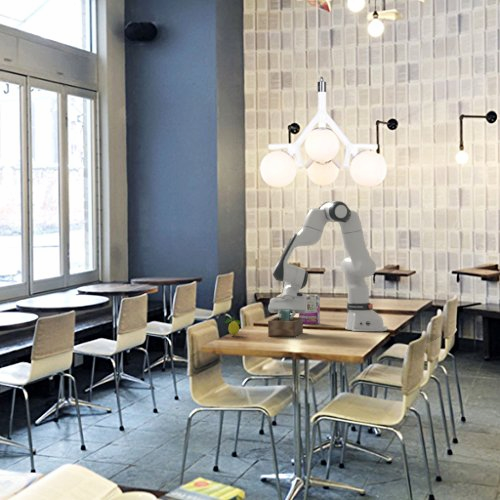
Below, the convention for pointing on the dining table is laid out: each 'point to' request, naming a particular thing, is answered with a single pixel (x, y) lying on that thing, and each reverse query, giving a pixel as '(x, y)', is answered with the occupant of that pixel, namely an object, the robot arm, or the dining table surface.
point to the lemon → (233, 326)
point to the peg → (285, 315)
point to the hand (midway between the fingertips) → (285, 318)
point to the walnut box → (285, 327)
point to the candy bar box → (312, 310)
